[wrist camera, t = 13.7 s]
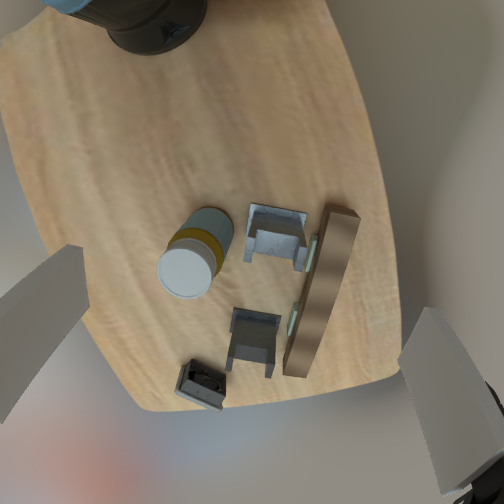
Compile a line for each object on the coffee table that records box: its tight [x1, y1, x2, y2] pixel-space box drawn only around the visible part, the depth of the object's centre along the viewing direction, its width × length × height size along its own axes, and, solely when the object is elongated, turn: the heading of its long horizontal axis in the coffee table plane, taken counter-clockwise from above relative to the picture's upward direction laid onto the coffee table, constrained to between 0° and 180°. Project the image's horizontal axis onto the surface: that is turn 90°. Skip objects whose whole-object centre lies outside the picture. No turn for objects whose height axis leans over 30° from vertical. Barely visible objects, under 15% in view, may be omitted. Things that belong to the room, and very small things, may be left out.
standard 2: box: [243, 203, 307, 272], centre depth 40 cm, size 5×8×11 cm, turn 81°
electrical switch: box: [174, 359, 226, 413], centre depth 54 cm, size 9×5×9 cm, turn 60°
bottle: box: [157, 207, 234, 299], centre depth 39 cm, size 7×7×15 cm
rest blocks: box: [287, 234, 318, 336], centre depth 48 cm, size 17×5×2 cm, turn 171°
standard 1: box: [225, 307, 281, 378], centre depth 47 cm, size 5×8×11 cm, turn 81°
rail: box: [283, 204, 361, 378], centre depth 45 cm, size 28×4×4 cm, turn 171°
